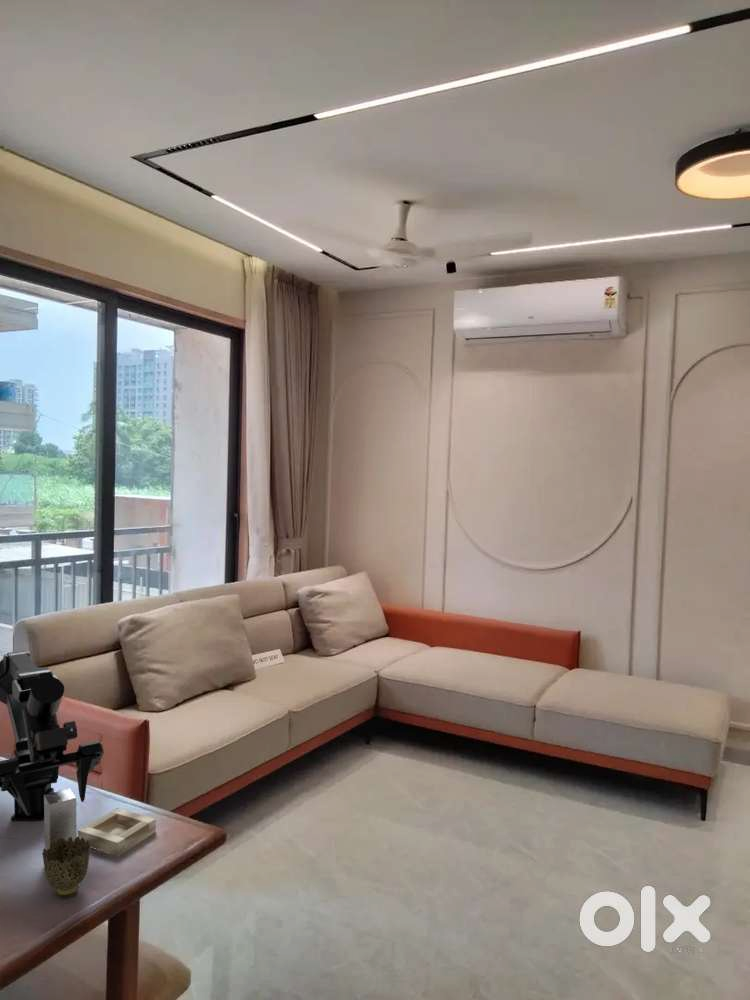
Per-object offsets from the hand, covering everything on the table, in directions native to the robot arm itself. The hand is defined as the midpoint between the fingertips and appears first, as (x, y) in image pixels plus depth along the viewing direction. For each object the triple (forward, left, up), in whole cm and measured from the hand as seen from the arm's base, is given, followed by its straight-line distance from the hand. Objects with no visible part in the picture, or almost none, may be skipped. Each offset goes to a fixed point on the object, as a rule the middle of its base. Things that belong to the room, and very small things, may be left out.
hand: (56, 807), depth 132 cm
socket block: (+9, +8, -10) cm, 15 cm away
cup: (+6, -10, -10) cm, 15 cm away
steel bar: (+2, -2, -10) cm, 10 cm away
